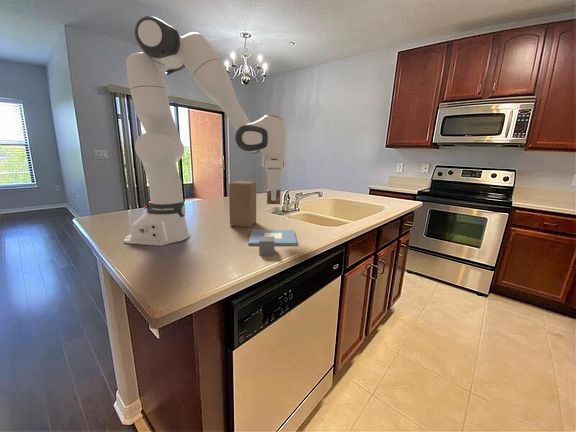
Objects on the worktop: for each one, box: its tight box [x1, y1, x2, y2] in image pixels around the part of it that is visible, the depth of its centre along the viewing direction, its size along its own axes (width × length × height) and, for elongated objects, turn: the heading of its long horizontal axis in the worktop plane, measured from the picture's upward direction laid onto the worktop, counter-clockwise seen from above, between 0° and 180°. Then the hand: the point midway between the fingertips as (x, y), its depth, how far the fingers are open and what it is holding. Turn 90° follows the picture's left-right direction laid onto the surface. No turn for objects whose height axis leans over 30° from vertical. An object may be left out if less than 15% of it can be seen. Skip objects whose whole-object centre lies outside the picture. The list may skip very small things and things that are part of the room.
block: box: [228, 180, 257, 228], centre depth 118 cm, size 10×10×20 cm
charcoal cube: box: [258, 237, 275, 256], centre depth 86 cm, size 5×5×5 cm
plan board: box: [247, 229, 298, 246], centre depth 101 cm, size 18×16×1 cm
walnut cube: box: [266, 188, 281, 205], centre depth 97 cm, size 5×5×5 cm
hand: (273, 198), depth 98 cm, fingers closed on walnut cube, 5 cm apart
